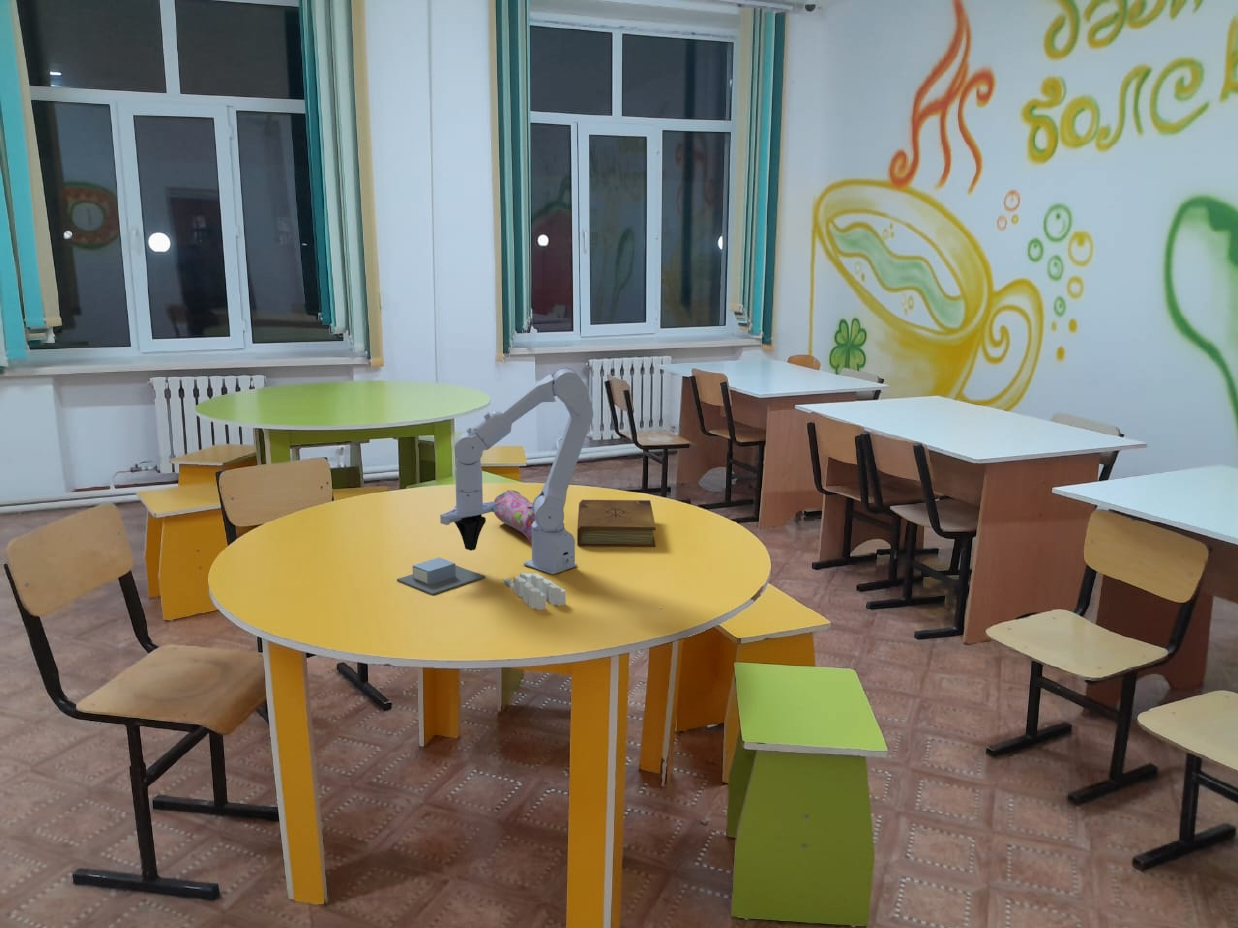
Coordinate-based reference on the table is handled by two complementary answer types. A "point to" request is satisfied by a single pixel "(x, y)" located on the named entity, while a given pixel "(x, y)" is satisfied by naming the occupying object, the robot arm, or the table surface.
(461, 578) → the mat
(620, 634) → the table surface
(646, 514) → the diary
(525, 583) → the modular blocks
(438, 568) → the block
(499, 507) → the pencil case
